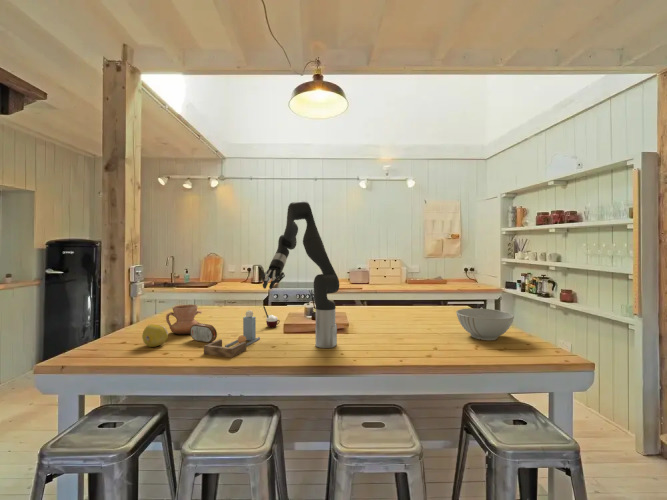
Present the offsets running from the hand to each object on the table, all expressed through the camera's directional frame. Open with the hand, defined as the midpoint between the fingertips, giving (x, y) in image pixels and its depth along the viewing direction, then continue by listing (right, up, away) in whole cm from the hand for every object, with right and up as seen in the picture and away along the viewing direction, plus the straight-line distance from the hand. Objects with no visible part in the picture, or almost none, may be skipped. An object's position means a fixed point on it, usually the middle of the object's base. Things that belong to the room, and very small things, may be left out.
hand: (267, 287), depth 183 cm
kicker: (-6, -24, -12) cm, 28 cm away
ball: (-8, -24, -18) cm, 32 cm away
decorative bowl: (+111, -25, -5) cm, 114 cm away
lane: (-8, -24, -17) cm, 31 cm away
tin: (-28, -25, -14) cm, 40 cm away
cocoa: (0, -24, +15) cm, 28 cm away
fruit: (-48, -25, -21) cm, 58 cm away
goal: (-12, -25, -30) cm, 40 cm away
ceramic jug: (-44, -24, +2) cm, 50 cm away
